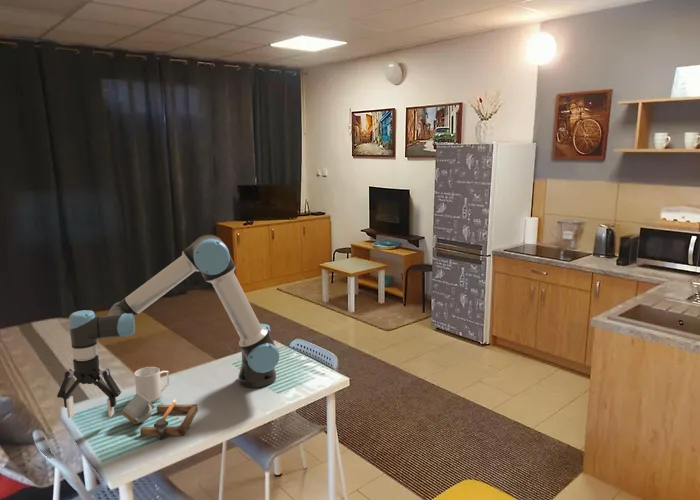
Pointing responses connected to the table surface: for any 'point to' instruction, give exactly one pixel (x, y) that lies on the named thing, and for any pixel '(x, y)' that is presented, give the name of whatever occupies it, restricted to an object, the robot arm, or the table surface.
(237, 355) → the table surface
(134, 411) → the ceramic mug
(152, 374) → the mug
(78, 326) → the robot arm
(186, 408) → the brown wooden flat frame
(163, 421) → the orange long spoon
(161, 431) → the dark grey ring
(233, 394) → the table surface
